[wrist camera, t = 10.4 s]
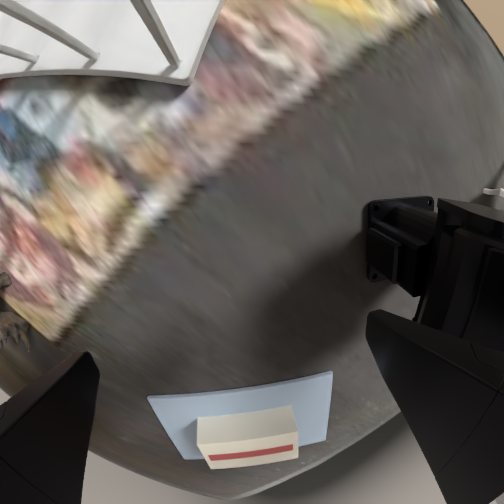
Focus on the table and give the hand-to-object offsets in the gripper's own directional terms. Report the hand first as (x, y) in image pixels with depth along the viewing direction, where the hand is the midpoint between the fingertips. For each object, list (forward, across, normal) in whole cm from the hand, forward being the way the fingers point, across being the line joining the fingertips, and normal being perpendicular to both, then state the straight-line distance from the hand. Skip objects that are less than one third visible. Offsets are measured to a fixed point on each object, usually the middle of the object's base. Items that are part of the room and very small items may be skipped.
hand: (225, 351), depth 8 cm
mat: (+12, +1, +21) cm, 24 cm away
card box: (+12, +1, +21) cm, 24 cm away
